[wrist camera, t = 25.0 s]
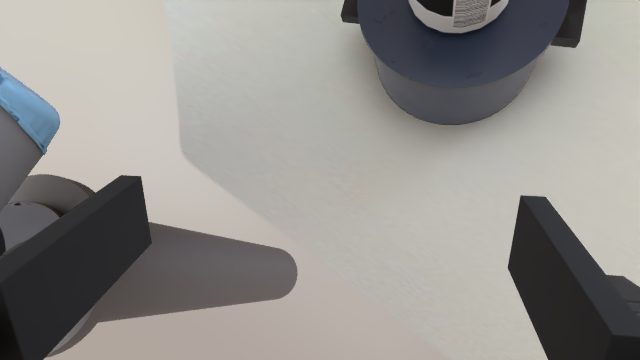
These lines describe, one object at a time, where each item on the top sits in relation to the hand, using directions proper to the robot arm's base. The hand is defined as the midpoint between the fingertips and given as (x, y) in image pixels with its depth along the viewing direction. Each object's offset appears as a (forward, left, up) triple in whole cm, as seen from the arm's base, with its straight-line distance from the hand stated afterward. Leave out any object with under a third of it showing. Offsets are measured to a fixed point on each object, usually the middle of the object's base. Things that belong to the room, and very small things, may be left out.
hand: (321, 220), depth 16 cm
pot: (-10, +20, -31) cm, 38 cm away
